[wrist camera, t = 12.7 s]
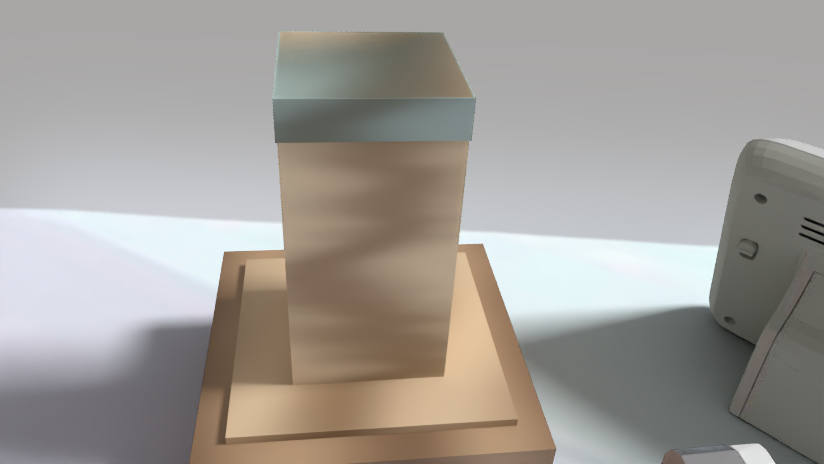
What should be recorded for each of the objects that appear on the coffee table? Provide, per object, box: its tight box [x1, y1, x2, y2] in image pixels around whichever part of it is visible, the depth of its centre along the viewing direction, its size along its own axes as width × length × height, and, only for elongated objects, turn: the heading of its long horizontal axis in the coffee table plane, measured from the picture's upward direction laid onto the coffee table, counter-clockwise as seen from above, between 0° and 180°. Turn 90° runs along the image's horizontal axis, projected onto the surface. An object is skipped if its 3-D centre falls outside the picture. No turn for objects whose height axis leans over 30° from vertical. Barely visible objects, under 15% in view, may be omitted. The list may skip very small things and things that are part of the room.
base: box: [189, 244, 556, 464], centre depth 26 cm, size 11×11×4 cm
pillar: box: [272, 31, 476, 385], centre depth 22 cm, size 5×5×10 cm
